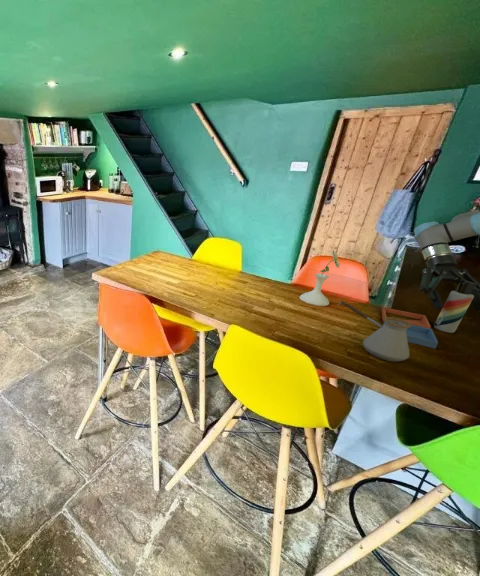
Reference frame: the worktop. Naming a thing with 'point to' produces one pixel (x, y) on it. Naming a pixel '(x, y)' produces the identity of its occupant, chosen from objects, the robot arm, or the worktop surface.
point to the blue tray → (421, 336)
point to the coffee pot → (387, 338)
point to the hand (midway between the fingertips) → (460, 309)
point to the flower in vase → (319, 287)
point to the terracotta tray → (422, 322)
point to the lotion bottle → (455, 307)
